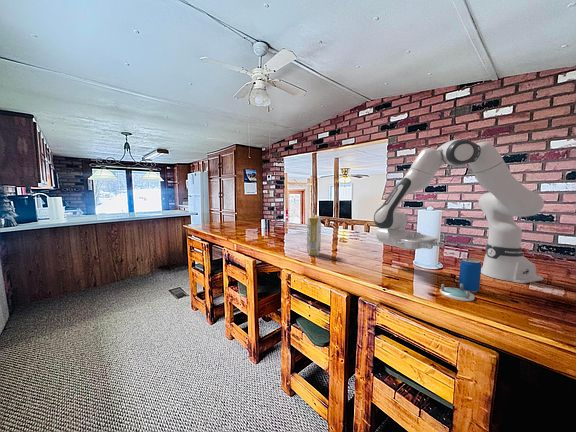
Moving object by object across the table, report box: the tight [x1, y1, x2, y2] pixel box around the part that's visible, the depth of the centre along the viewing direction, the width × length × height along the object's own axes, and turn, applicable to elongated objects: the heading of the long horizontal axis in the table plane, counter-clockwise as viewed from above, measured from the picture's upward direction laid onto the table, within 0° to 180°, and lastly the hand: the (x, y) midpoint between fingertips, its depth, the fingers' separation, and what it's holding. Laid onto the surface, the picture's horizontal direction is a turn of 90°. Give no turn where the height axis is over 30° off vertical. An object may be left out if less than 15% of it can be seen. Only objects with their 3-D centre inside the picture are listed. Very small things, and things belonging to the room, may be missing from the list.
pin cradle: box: [439, 283, 476, 302], centre depth 88 cm, size 10×10×3 cm
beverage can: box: [458, 257, 482, 294], centre depth 92 cm, size 6×6×12 cm
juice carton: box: [306, 214, 322, 257], centre depth 144 cm, size 9×8×24 cm
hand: (437, 245), depth 102 cm, fingers open, 8 cm apart
